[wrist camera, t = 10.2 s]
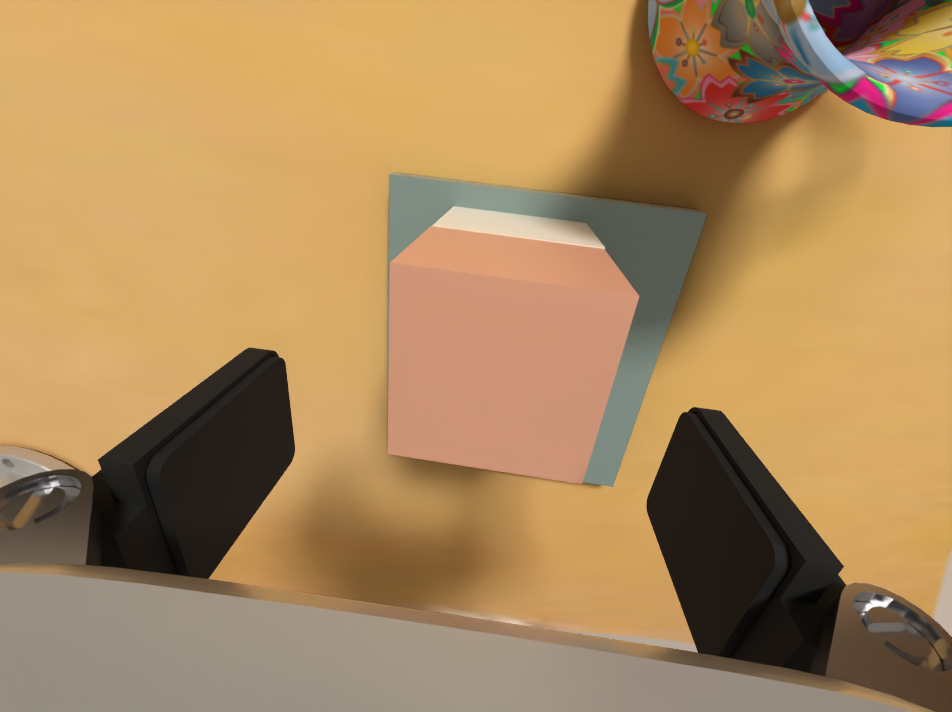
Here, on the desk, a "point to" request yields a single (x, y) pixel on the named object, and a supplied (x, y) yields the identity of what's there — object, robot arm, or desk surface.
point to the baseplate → (626, 244)
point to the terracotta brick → (503, 351)
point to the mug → (806, 56)
